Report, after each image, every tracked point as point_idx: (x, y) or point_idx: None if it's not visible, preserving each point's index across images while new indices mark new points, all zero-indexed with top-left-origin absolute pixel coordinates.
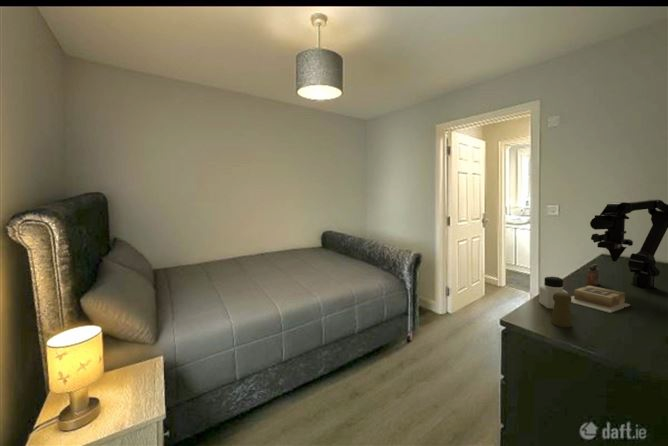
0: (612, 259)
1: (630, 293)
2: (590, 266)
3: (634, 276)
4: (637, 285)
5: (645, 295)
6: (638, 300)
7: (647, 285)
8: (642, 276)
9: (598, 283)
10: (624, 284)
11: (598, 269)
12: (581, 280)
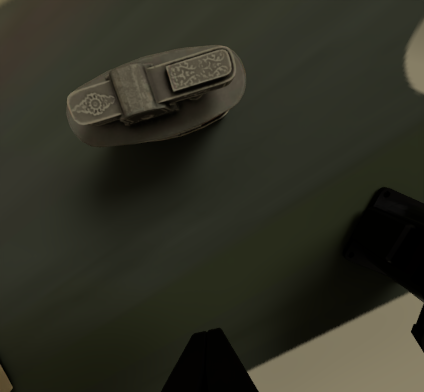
0: (180, 362)
1: (191, 298)
2: (70, 110)
3: (402, 237)
4: (353, 238)
5: None
6: (116, 369)
7: (380, 269)
8: (410, 283)
9: (211, 123)
10: (348, 176)
11: (215, 109)
12: (193, 8)
